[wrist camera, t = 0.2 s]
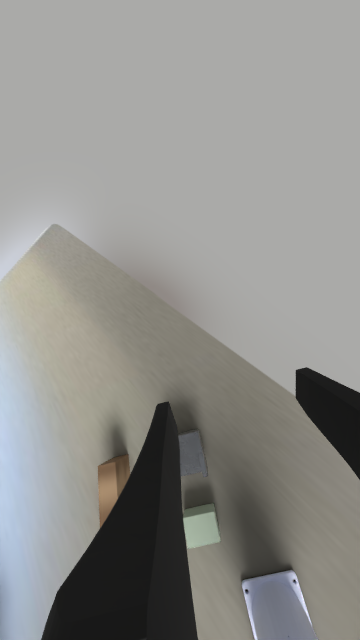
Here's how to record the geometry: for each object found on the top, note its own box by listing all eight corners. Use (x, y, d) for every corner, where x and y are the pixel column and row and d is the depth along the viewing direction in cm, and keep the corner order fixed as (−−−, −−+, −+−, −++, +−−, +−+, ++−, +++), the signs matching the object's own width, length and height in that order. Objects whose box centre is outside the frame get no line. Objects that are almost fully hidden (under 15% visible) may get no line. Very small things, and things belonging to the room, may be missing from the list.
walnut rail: (137, 553, 32) (123, 583, 27) (119, 557, 32) (102, 588, 27) (128, 454, 38) (115, 461, 33) (113, 457, 38) (97, 466, 33)
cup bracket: (207, 465, 36) (207, 476, 30) (176, 472, 36) (170, 484, 30) (199, 427, 38) (197, 431, 33) (169, 434, 38) (163, 439, 33)
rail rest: (219, 530, 32) (220, 541, 29) (189, 536, 32) (187, 548, 30) (213, 502, 34) (213, 511, 31) (184, 509, 34) (182, 518, 31)
